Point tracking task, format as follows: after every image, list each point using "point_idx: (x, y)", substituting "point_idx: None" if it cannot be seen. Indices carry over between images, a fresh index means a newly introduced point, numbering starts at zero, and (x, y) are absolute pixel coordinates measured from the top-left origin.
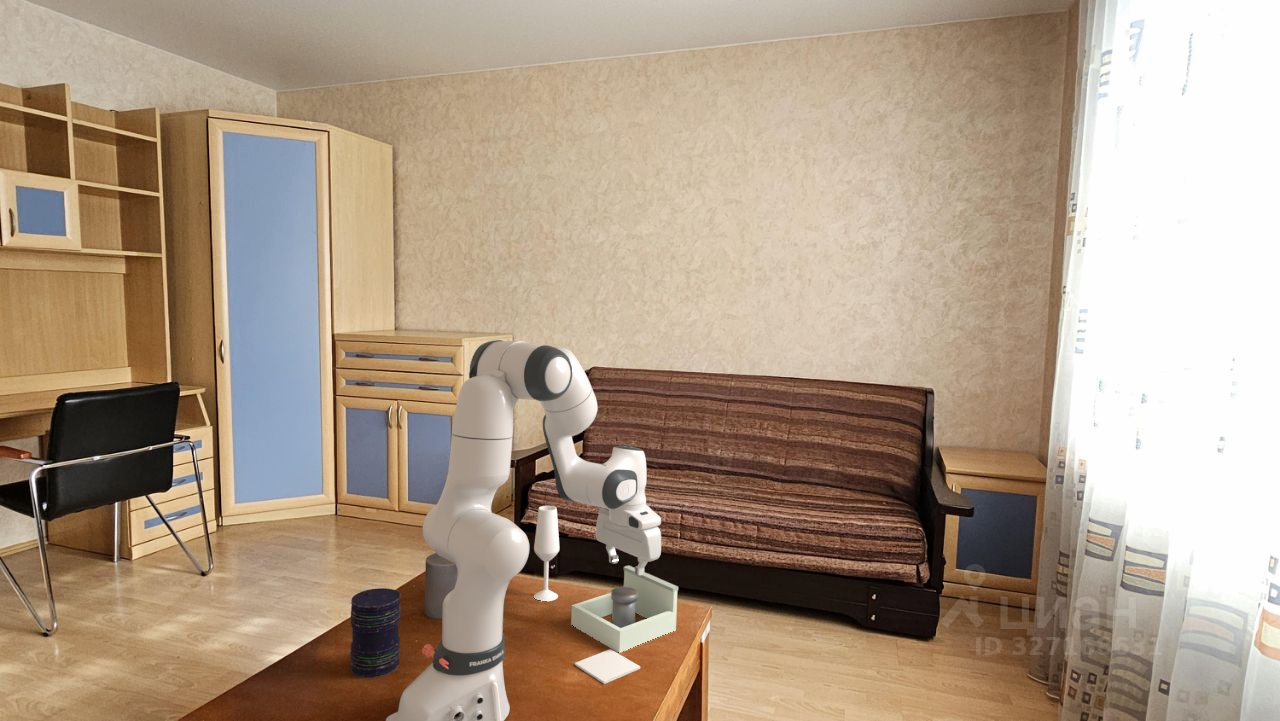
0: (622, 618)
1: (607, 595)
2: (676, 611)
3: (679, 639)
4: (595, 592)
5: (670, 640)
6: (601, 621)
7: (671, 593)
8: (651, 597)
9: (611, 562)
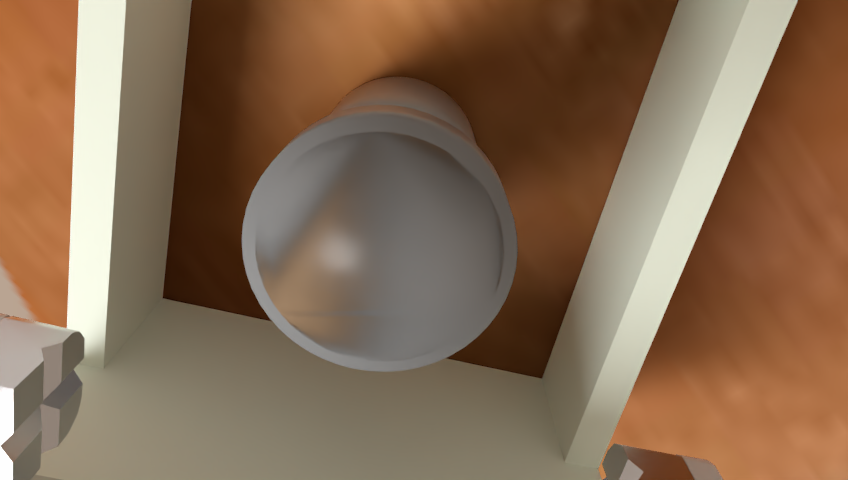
0: (345, 106)
1: (637, 307)
2: None
3: (37, 240)
4: (832, 448)
5: (64, 197)
6: None
7: None
8: (291, 428)
9: (655, 451)
